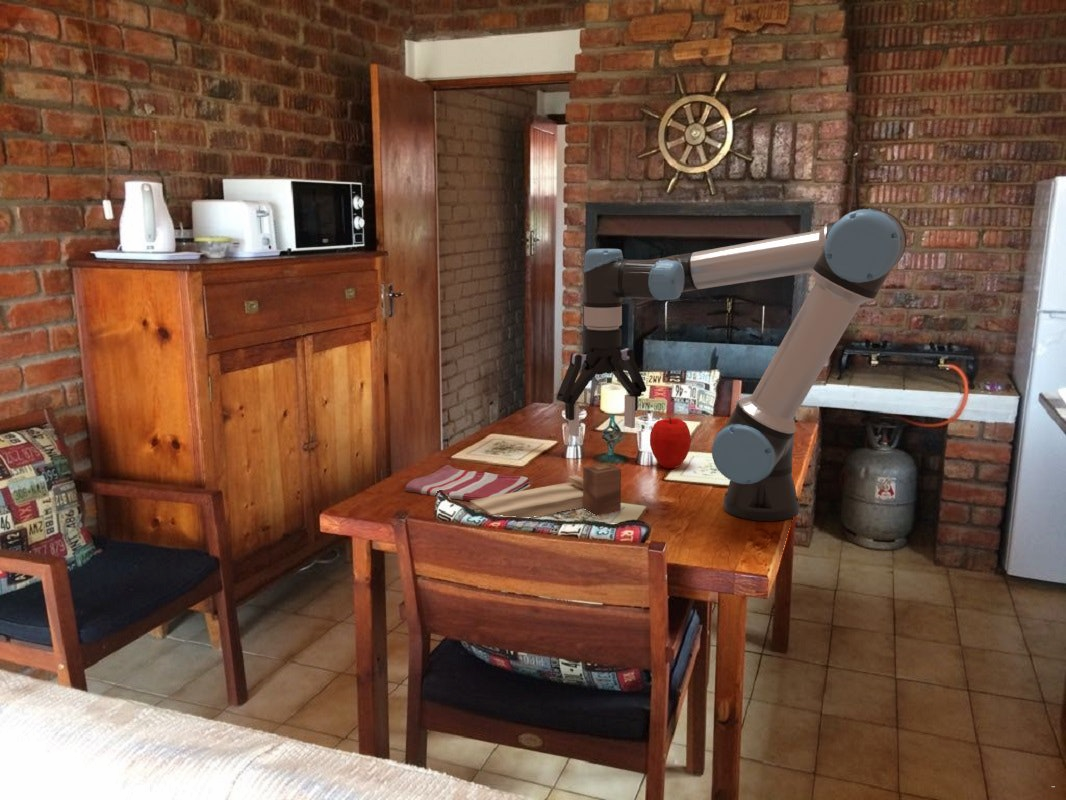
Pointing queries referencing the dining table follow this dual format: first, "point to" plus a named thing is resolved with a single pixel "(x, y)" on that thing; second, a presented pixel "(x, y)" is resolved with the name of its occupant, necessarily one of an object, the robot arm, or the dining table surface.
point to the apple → (670, 442)
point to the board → (533, 501)
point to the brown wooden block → (600, 488)
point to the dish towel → (467, 484)
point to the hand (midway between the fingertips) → (602, 431)
